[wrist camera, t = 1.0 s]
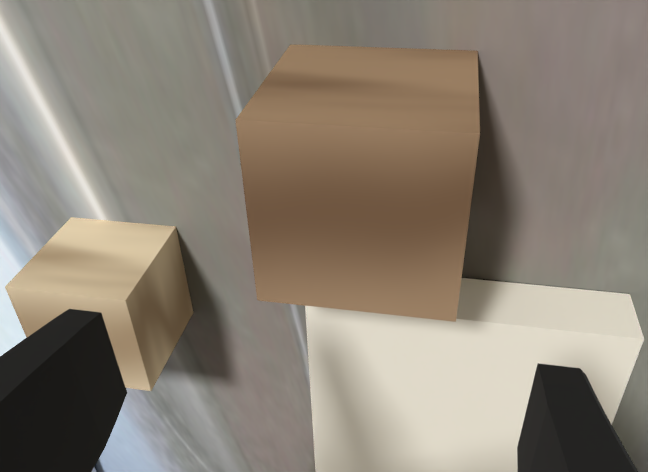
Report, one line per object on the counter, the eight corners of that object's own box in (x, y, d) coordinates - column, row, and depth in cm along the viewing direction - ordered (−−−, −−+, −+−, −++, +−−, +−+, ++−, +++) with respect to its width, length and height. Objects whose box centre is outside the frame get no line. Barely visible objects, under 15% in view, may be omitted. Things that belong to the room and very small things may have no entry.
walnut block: (459, 210, 19) (455, 321, 15) (300, 198, 20) (257, 300, 16) (477, 49, 16) (479, 133, 12) (290, 43, 17) (235, 120, 13)
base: (566, 481, 25) (573, 527, 23) (325, 445, 27) (316, 486, 25) (629, 294, 19) (644, 339, 18) (317, 264, 21) (305, 302, 19)
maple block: (194, 310, 24) (151, 391, 21) (99, 300, 24) (43, 375, 21) (177, 225, 21) (125, 300, 18) (72, 215, 22) (5, 286, 19)
